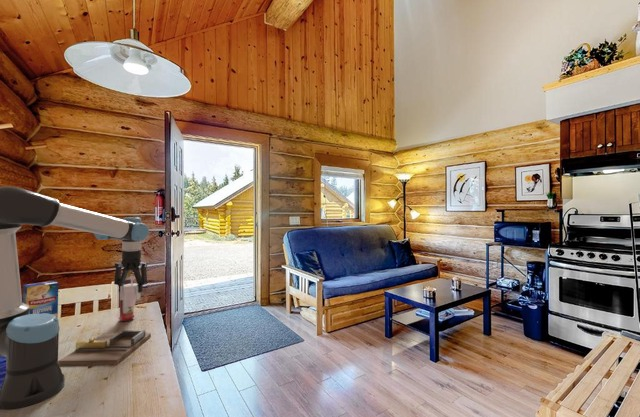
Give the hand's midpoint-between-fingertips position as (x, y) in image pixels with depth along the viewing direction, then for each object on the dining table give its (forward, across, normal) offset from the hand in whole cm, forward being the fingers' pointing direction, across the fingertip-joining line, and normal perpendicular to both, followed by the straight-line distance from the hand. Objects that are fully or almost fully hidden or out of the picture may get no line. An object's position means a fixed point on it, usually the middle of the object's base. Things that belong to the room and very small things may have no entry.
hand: (130, 299), depth 137 cm
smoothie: (+3, 0, 0) cm, 3 cm away
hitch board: (+16, -1, +16) cm, 23 cm away
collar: (+14, -6, +11) cm, 19 cm away
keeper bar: (+14, +4, +19) cm, 24 cm away
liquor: (+16, +11, -17) cm, 26 cm away
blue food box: (+16, +43, -4) cm, 46 cm away
